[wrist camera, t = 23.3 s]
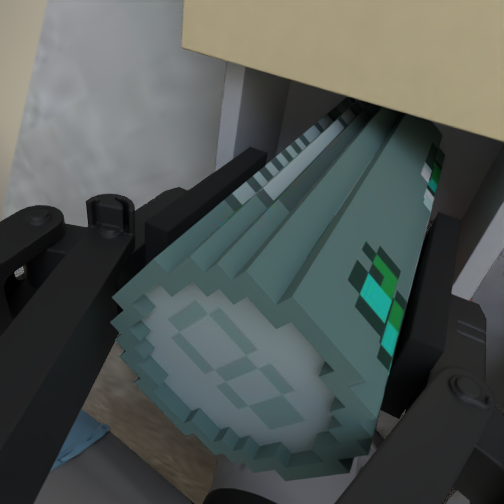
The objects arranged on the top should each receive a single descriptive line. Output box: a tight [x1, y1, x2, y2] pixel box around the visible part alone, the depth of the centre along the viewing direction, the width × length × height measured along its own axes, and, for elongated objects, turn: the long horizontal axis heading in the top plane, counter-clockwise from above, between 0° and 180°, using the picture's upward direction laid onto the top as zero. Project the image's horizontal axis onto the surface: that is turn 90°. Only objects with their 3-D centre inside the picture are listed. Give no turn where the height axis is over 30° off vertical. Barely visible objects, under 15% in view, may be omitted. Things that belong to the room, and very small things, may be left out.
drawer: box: [215, 61, 504, 302], centre depth 19 cm, size 20×13×7 cm, turn 170°
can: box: [110, 97, 445, 481], centre depth 15 cm, size 6×6×15 cm
